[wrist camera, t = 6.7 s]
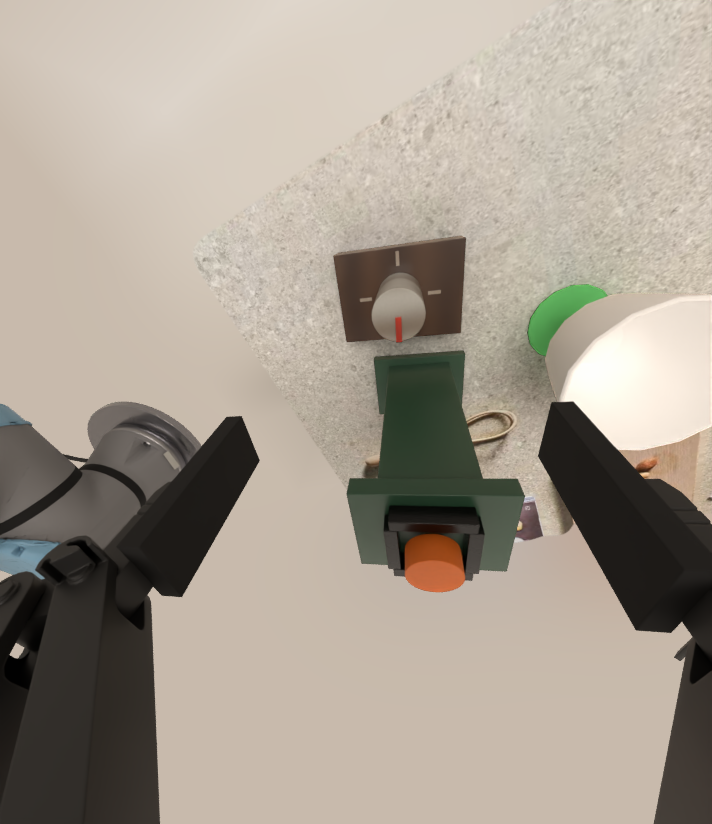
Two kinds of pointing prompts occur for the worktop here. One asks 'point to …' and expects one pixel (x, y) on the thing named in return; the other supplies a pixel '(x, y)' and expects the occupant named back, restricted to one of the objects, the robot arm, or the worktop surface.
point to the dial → (399, 308)
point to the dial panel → (424, 260)
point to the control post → (430, 472)
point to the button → (434, 563)
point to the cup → (630, 361)
